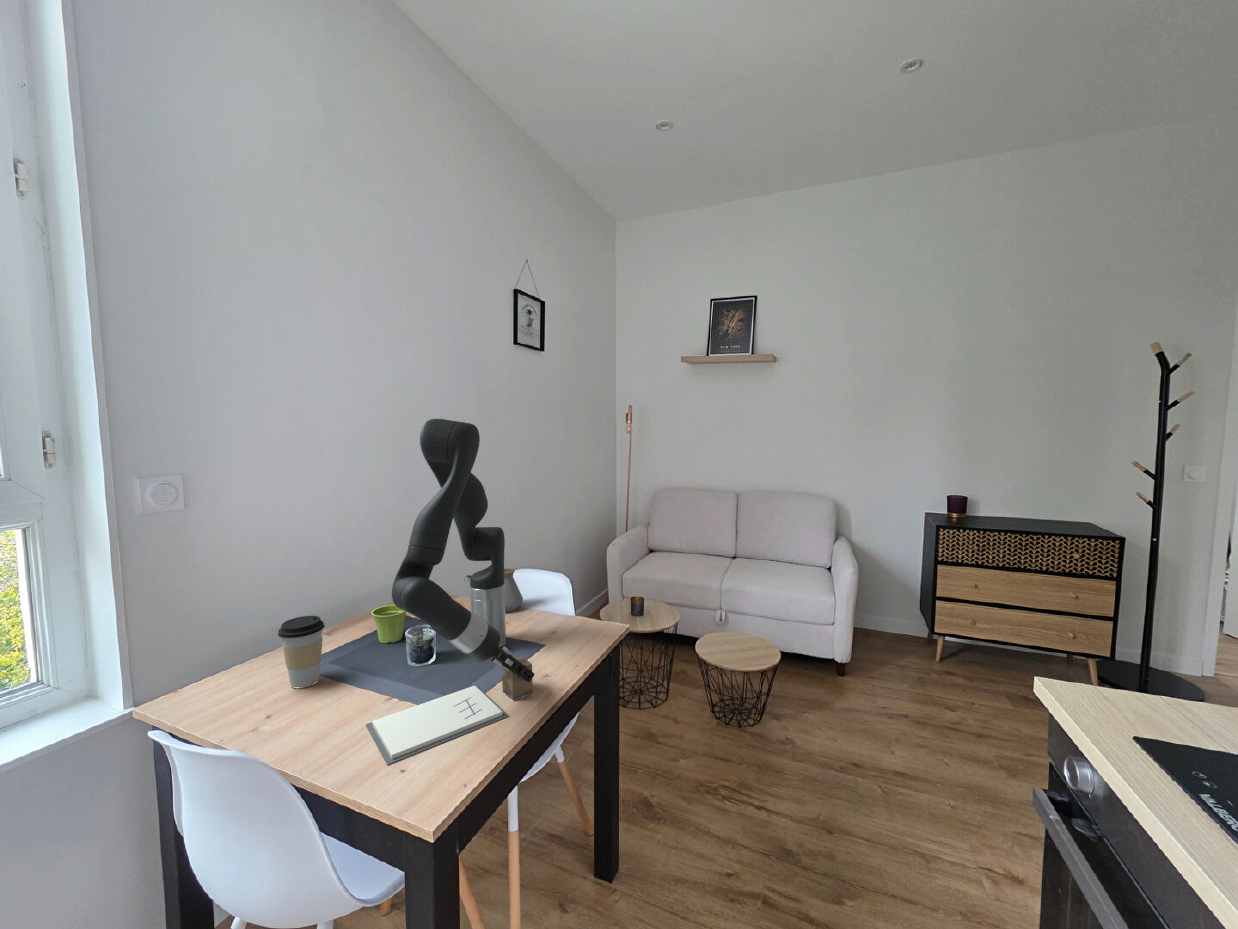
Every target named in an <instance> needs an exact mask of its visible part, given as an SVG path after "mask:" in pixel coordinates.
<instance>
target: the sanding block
mask: <svg viewBox="0 0 1238 929" xmlns="http://www.w3.org/2000/svg"><path fill="white" fill-rule="evenodd" d="M516 657H517V656H516ZM517 660H518V661H519V662H520V663H523V664H524V665H526V667H527V668H528V669H529V670H531V671H532V672H533V664H532V662H530V661H529V660H528V659H526V658H525V657H523V656H522V655H520V656H518V657H517ZM501 677H502V678H501V679H502V682H501V684H502V693H503V694H504V693H505V694H504V695H506V697H508V698H509V699H510V700H511V699H512V700H514V701H516V700H515V699H517V700H519V699H521V697H522V698H524V697H527V696H530V695H532V694H533V693H534V692H533V685H534V684H533V679H532V680H531V681H530V682H527V681H526V680H524V679H523V678H522V677H521V678H520V677H517V675H515V674H514V673H513V672H512V671H510V670H509V671H507V670H505V669H504V668H502V667H501ZM531 693H532V694H531ZM529 694H530V695H529ZM526 695H527V696H526ZM523 696H524V697H523ZM512 700H511V701H512Z"/></svg>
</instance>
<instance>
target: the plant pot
mask: <svg viewBox="0 0 1238 929" xmlns="http://www.w3.org/2000/svg"><path fill="white" fill-rule="evenodd" d="M406 615H407V613H406V611H404V610H402V609H400V608H398V607H397V606H396V605H395V604H390V605H383V606H380V607H377V608H374V609H373V610H372V611H371V616H372V617H373V620H374V621H375V626H376V627H375V628H376V632H377V636H378V642H379V643H381V644H388V643H396V642H398V641H400V640H402V638H403V633H404V625H405V624H404V623H405V618H406Z"/></svg>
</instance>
